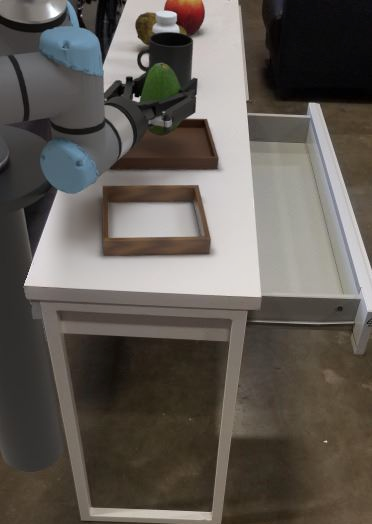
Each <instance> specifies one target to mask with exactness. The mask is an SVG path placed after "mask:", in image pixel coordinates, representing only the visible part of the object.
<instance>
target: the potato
mask: <svg viewBox="0 0 372 524" xmlns="http://www.w3.org/2000/svg"><path fill="white" fill-rule="evenodd" d="M156 23H157V21H156V12H151V11H150V12H149V11H146V12H144V13H141V14H139V15H138V17H137V19H136V20H135V24H134V26H135V27H134V28H135V30H136V34H137V38H138V40H140V41H141V43H143V44H144V45H146V46H149V37H150V36H151V35H152V29H153V26H154V24H156ZM178 27H179V29H180V33H181V34H185V35H187V32H186V31H185V29H184V28H182V27H181V26H179V25H178Z"/></svg>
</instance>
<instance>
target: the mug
mask: <svg viewBox="0 0 372 524" xmlns="http://www.w3.org/2000/svg"><path fill="white" fill-rule="evenodd" d="M145 54H148V66H145V65H143V63H142V57H143V56H144V55H145ZM193 54H194V39H193V38H192V37H191V36H189V35H185V34H181V33H175V32H161V33H156V34H153V35H151V36H150V37H149V45H148V48H144V49H141V51H139V52H138V54H137V58H136V63H137V66H138V68H139V69H140V70H141V71H143V72H144V73H145V72H147V71H148V70H149V69H151V68H152V67H153V66H154V65H155V64H157V63H164V64H167V65H168V66H169V67H170V68H171V69H172V70H173V71H174V73H175V75H176V77H177V79H178V81H179V84H180V86H181V88H182V87H183V86H184V85H186V84H187V83H188V82H189V81H190V80H192V72H193Z"/></svg>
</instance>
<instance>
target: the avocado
mask: <svg viewBox="0 0 372 524" xmlns="http://www.w3.org/2000/svg"><path fill="white" fill-rule="evenodd" d="M180 89H181V86H180V84H179V81H178V79H177V77H176V75H175V73H174V71H173V70H172V69H171V68H170V67H169V66H168V65H167V64H164V63H157V64H155V65H154V66H153V67H152V68H151V69H150V70H149V72H148V75H147V77H146V81H145V84H144V87H143V90H142V93H141V96H140V97H139V102H140V101H141V102H145V101H148V100H151V99H153V100H156V101H158V100H161V99H164V98H167V97H170V96H173V95H176V94H179V90H180ZM179 123H180V122H179ZM179 123H178V124H176V125H175V126H173V127H172V129H171V131H170V132H172V131H173V130H175V129H176V128H177V126H178V125H179ZM148 130H149V131H150V132H151V133H153V134H155V135H160V136H162V135H166V134H169V133H170V132H165V131H163V128H162V126H157V125H155V126H154V127H153V128H151V129H148Z"/></svg>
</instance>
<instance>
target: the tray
mask: <svg viewBox="0 0 372 524" xmlns="http://www.w3.org/2000/svg"><path fill="white" fill-rule="evenodd" d="M219 159H220V158H219V155H218V151H217V148H216V145H215V141H214V138H213V135H212V131H211V127H210V124H209V121H208V118H186V119H184V120H183V121H181V122H180V123H179V125H178V126H177V128H176V129H175V130H173V131H172V132H170V133H169V134H166V135H162V136H160V135H155V134H153V133H151V132H150V131H149V130H146V132H145V134H144V136H143V137H142V139H141V140H140V141H139V142H138V143H137V144H136V145H135V146H134V147H133V148H131V149H130V150H129V151H128V152H127V153H125V154H124V155H123V156H122V157H121V158H120V159H119V160H117V161H116V162H115V163H114V164H113V165H112V166H111V167H110V168H109V170H218V167H219Z"/></svg>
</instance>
